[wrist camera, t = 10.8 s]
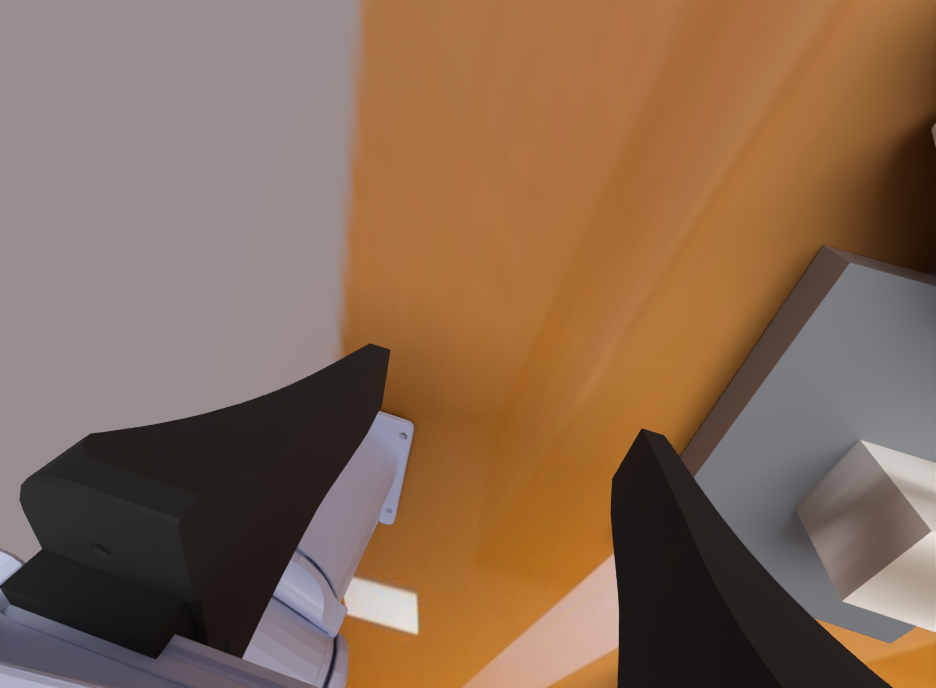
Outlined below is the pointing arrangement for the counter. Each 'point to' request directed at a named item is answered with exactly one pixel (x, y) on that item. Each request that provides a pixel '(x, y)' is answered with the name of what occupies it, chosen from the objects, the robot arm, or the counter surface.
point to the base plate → (821, 415)
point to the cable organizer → (934, 133)
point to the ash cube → (878, 531)
